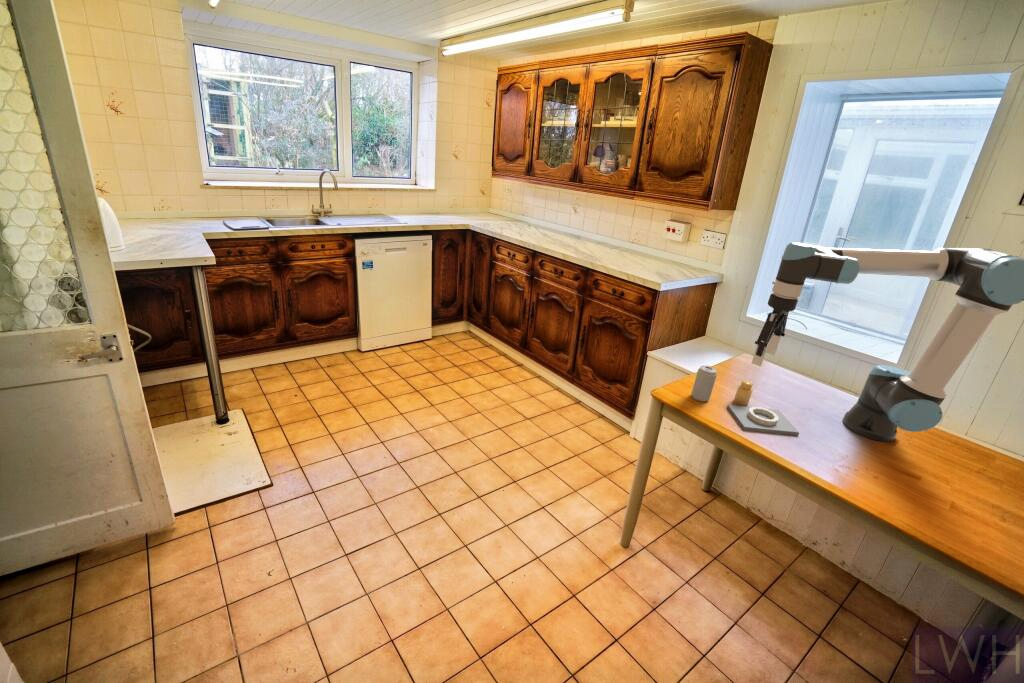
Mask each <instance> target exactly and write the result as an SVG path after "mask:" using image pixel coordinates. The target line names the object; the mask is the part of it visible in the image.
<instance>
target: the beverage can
mask: <svg viewBox="0 0 1024 683" xmlns="http://www.w3.org/2000/svg"><path fill="white" fill-rule="evenodd" d="M717 372H718V371H717V369H716V368H715V367H713V366H709V365H700V366H699V368H698V369H697V373H696V375H695V379H694V383H693V387H692V390H691V396H692V398H693V399H695V400H696V401H697V402H702V403H703V402H709V400H710V398H711V396H712V393H713V390H714V386H715V382H716V380H717V376H718V374H717Z"/></svg>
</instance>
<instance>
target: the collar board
mask: <svg viewBox="0 0 1024 683" xmlns="http://www.w3.org/2000/svg"><path fill="white" fill-rule="evenodd" d="M726 408H727V409H728V411H729V412H730V413H731V416H733V418H734V419H735V420H736V422H737V423H738V424H739V426H740V427H741V429H742V430H743V431H752V432H760V433H769V434H770V433H771V434H780V435H789V436H799V434H800V431H799V430H797V428H796V427H795V426H794V425H793V424H792V423H791V422H790V420H789V419H788V418H787V417H786V416H785V415H784V414H783V413H782V412H781V411H780V410H779V409H773V408H764V407H761V406H742V405H738V404H737V405H735V404H734V405H733V404H727V406H726Z"/></svg>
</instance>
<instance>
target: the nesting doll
mask: <svg viewBox="0 0 1024 683" xmlns="http://www.w3.org/2000/svg"><path fill="white" fill-rule="evenodd" d="M753 392H754V389H753V382H751V381H748V380H741V383H740V384H739V385H738V386H737V389H736V393H735V396H734V398H733V402H734V403H735V404H737V406H746V407H748V405H749V402H750V399H751V396H752V394H753Z"/></svg>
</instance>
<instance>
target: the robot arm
mask: <svg viewBox="0 0 1024 683" xmlns="http://www.w3.org/2000/svg"><path fill="white" fill-rule="evenodd" d="M859 274H860V275H861V274H862V275H878V276H881V275H882V276H887V275H888V276H901V277H923V278H925V277H926V278H928V279H929V280H931V281H933V282H934V281H935V282H936V281H937V282H945V283H950V284H953V285H956V286H959V287H958V289H957V291H955V294H954V297H955V299H956V301H957V303H956V304H955V305H954V307H953V308H952V310H951V311H950V313H949V314H948V316H947V318H945V321H944V322H943V324H942V325H941V326H940V328H939V330H938V331H937V333H936V334H935V335H934V336H933V338H932V340H931V341H930V343H929V345H928V346H927V348H926V349H925V351H923V353H922V355H921V356H920V358H919V359H918V361H917V363H916V364H915V365H914V367H913V368H912V370H911V371H909V370H907V369H906V370H905V369H903V368H899V367H895V366H891V365H885V364H884V365H883V364H878V365H874V366H873V367H872V369H871V370H870V372H869V373H868V376H867V379H866V381H865V383H864V385H863V388H862V390H861V392H860V395H859V397H858V400H856V403H855V404H854V405H852V407H851V408H850V409H849V410H848V411H846V413H845V414H844V416H843V418H842V423H843V424H844V425H845V427H847V429H850V431H852V432H854V433H856V434H858V435H860V436H862V437H865V438H867V439H871V440H874V441H880V442H892V441H894V440H895V439H896V437H897V434H898V428H899V429H901V430H903V431H906V432H910V433H911V432H913V433H914V432H915V433H919V432H922V431H928V430H930V429H933V428H934V427H936V426H938V424H939V423H940V422H941V421H942V419H943V415H944V414H943V410H942V407H941V405H942V403H943V402H944V400H945V398H946V397H947V394H946V392H945V390H944V389H945V388H946V386H947V385H948V383H949V382H950V380H951V379H952V378H953V376H954V375H955V374H956V371H958V370H959V368H960V366H961V365H962V364H963V362H964V361H965V359H967V357H968V356H969V354H970V353H971V351H972V349H973V348H974V347H975V346H976V344H977V343H978V342H979V340H980V339H981V337H982V336H983V334H984V333H985V332H986V330H987V329H988V327H989V326H990V324H992V322H993V320H994V319H995V318H996V316H998V315H1000V314H1005V313H1008V311H1010V309H1011V308H1012V306H1013V305H1017V304H1020V303H1021V302H1023V301H1024V258H1023V257H1019V256H1018V255H1011V254H1007V253H1004V252H1002V251H997V250H994V249H992V248H991V249H990V248H984V247H983V248H982V247H953V248H952V247H938V248H936V249H934V250H932V251H930V250H908V249H907V250H905V249H904V250H903V249H902V250H901V249H880V248H879V249H875V248H874V249H873V248H848V247H847V248H845V247H825V246H823V245H819V244H818V245H817V244H816V245H815V244H814V245H812V244H809V243H803V242H796V241H795V242H789V243H788V244H787V245H786V247H785V248H784V252H783V254H782V256H781V260H780V263H779V267H778V271H777V275H776V277H775V279H774V280H773V281H772V284H773V286H772V290H771V293H770V294H769V298H768V302H767V305H768V307H770V308H772V309H773V310H772V311H771V312H769V313H767V317H766V320H765V322H764V324H763V328H762V329H761V331H760V333H759V336H758V337H757V340H755V341H754V344H755V345H756V347H755V351H754V354H753V357H752V361H751V364H753V365H755V366H758V367H762V364H763V362H764V358H765V356H766V354H769V355H771V356H776V353H777V350H778V347H779V344H780V342H781V338H782V337H785V335H786V333H785V330H786V326H787V321H788V317H789V313H790V312H794V311H795V310H796V308H797V304H798V301H799V297H801V293H802V291H803V288H804V285H805V282H806V279H808V280H815V281H821V282H822V281H823V282H828V283H834V284H835V283H836V284H837V285H838V284H845V285H849V284H852V283H853V282H854V281H855V279H856V278H857V277H858V275H859Z"/></svg>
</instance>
